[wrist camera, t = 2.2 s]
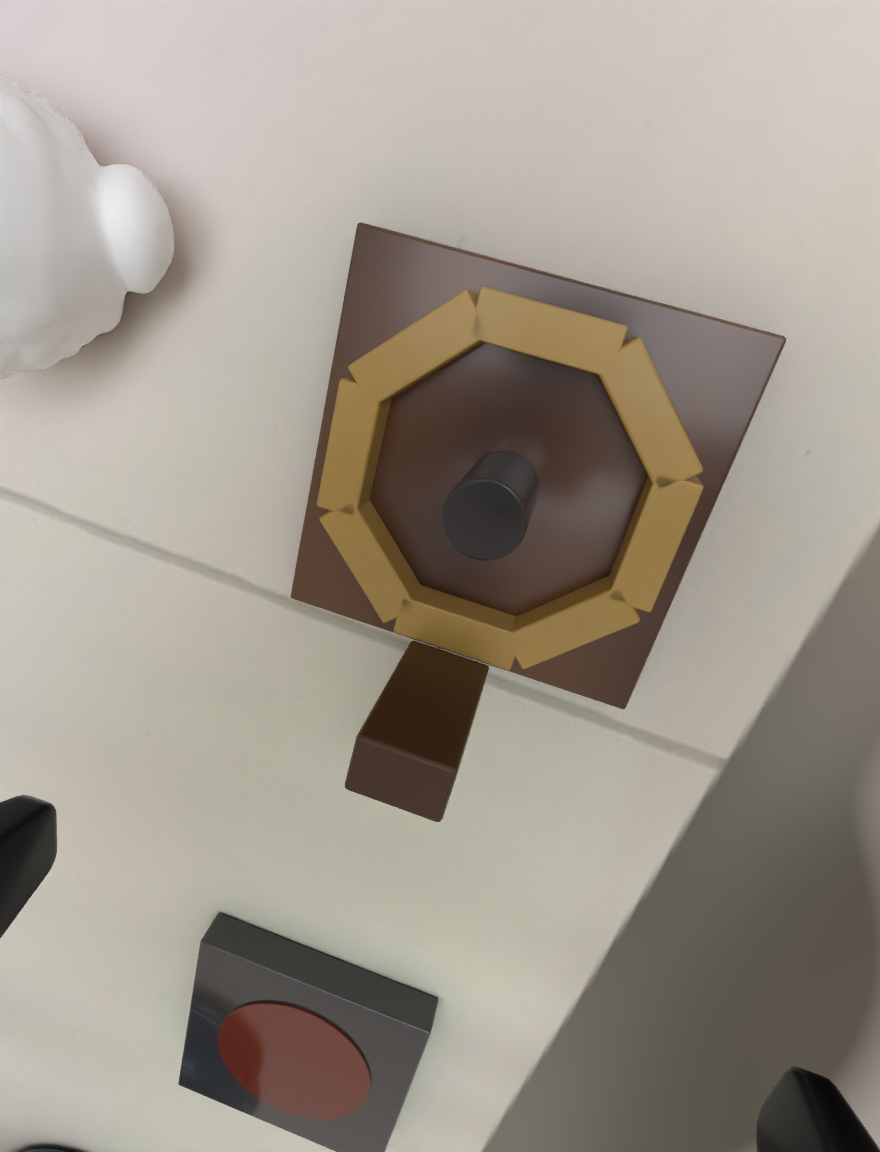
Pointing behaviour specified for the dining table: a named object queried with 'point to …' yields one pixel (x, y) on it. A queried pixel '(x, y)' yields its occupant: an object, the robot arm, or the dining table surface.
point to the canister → (44, 1150)
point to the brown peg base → (524, 450)
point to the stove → (302, 1037)
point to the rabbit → (67, 236)
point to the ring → (441, 679)
